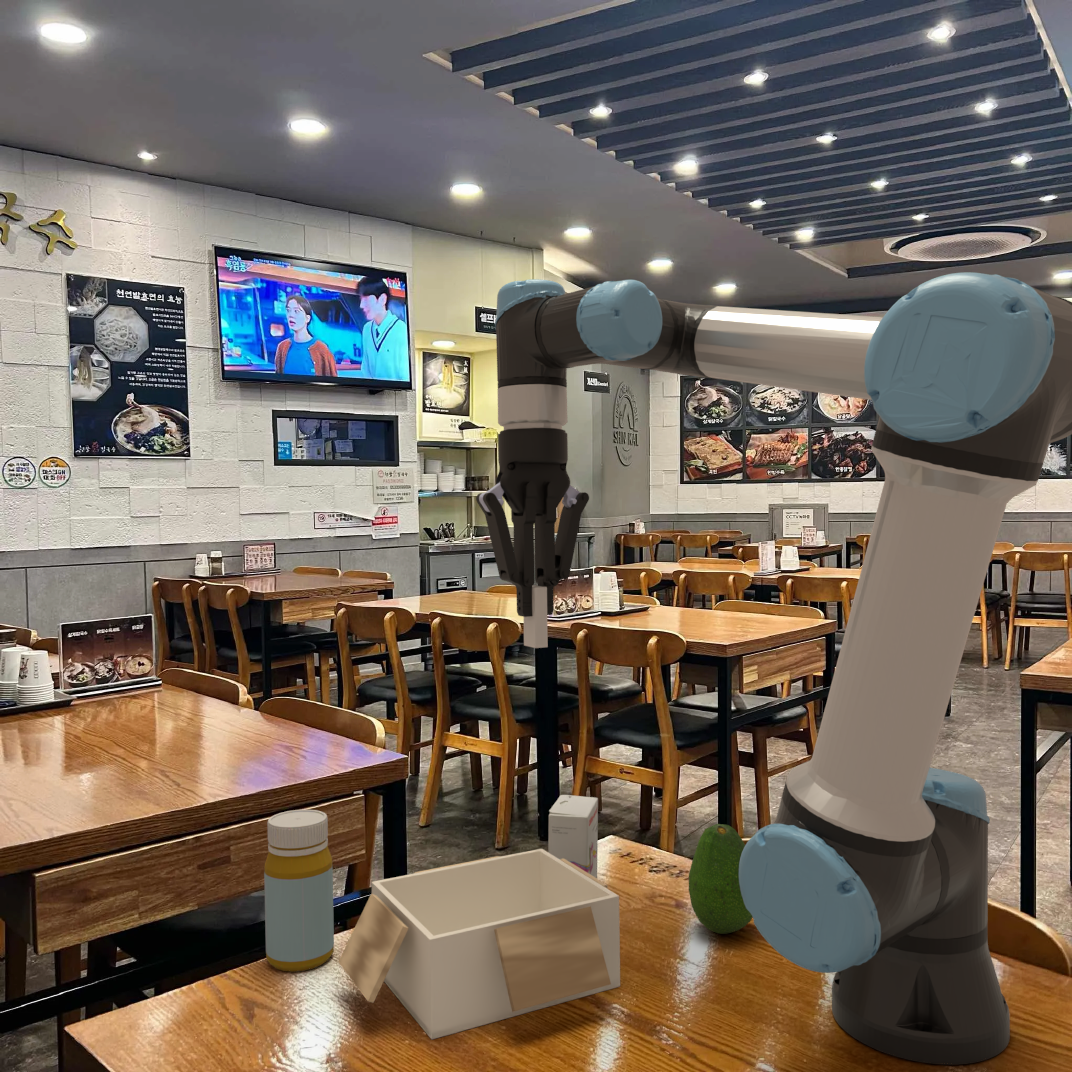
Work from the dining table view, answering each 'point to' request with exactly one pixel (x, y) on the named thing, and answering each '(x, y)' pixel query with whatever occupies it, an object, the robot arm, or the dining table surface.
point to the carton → (483, 933)
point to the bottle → (298, 891)
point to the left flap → (372, 947)
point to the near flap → (551, 958)
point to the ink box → (575, 831)
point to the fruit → (718, 880)
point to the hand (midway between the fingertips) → (535, 646)
